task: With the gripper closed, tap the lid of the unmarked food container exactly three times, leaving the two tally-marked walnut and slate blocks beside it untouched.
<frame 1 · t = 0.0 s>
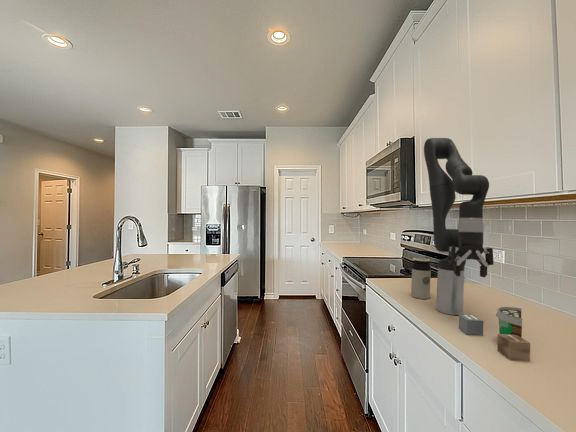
hand: (470, 276, 99), 17 cm above the worktop, tool pointing down, fingers open, 8 cm apart
food container: (507, 343, 85), on the worktop
walnut block: (512, 356, 77), on the worktop
slate block: (470, 332, 92), on the worktop
travel mug: (420, 297, 131), on the worktop
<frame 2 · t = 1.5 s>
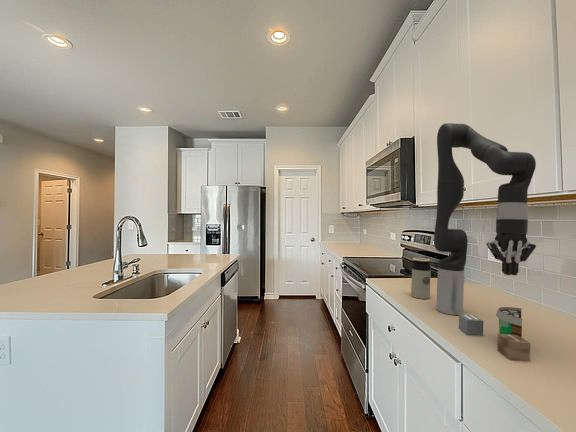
hand: (509, 274, 85), 21 cm above the worktop, tool pointing down, fingers closed
nothing on the worktop moved.
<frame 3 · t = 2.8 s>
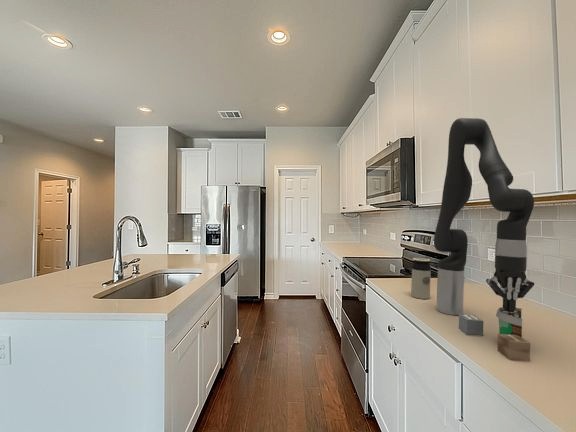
hand: (508, 311, 84), 10 cm above the worktop, tool pointing down, fingers closed
food container: (507, 344, 85), on the worktop, touching gripper
everything else where it was.
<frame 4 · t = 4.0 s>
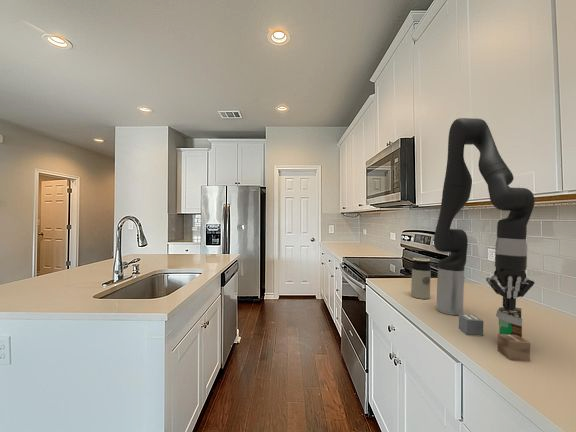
hand: (508, 309, 85), 10 cm above the worktop, tool pointing down, fingers closed
food container: (507, 343, 85), on the worktop
everything else where it was.
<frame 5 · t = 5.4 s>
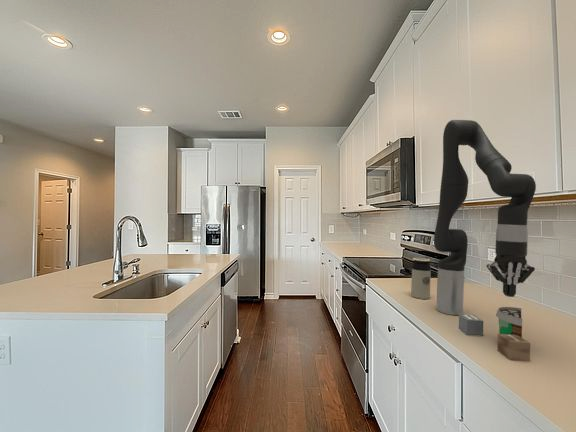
hand: (509, 296, 85), 14 cm above the worktop, tool pointing down, fingers closed
nothing on the worktop moved.
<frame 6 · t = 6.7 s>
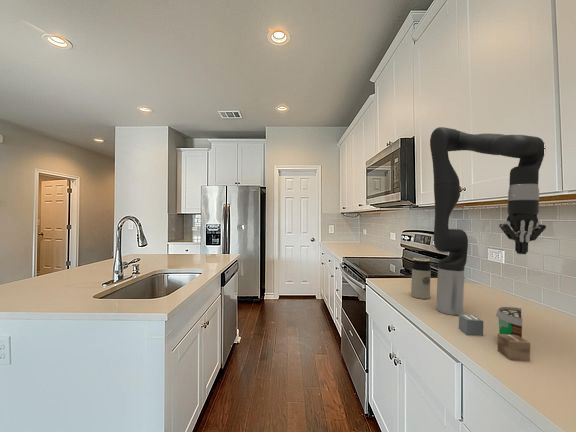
hand: (521, 253, 88), 27 cm above the worktop, tool pointing down, fingers closed
nothing on the worktop moved.
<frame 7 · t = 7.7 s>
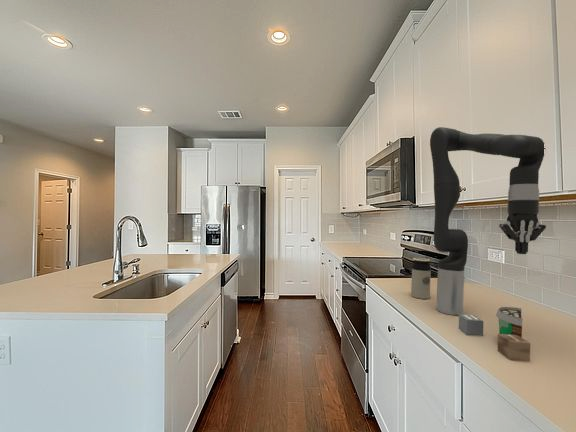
hand: (521, 253, 88), 27 cm above the worktop, tool pointing down, fingers closed
nothing on the worktop moved.
at the end: food container moved 0.2 cm from its start; food container tilted 0°; walnut block moved 0.1 cm from its start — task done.
